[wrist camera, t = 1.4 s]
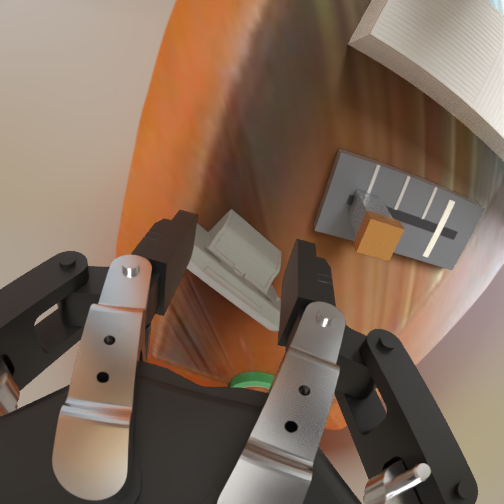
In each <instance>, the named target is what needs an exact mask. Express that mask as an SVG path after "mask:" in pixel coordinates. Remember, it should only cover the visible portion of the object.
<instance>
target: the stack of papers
mask: <svg viewBox="0 0 504 504" xmlns="http://www.w3.org/2000/svg"><path fill="white" fill-rule="evenodd" d="M348 45H350V46H351V47H353V48H355V49H357V50H359V51H360V52H362V53H364V54H366V55H367V56H369V57H371V58H372V59H374V60H376V61H377V62H379V63H381V64H382V65H384V66H385V67H387V68H389V69H390V70H392V71H393V72H395V73H396V74H398V75H399V76H401V77H402V78H404V79H405V80H407V81H408V82H410V83H411V84H412V85H414V86H415V87H417V88H418V89H420V90H421V91H422V92H424V93H425V94H426V95H428V96H429V97H430V98H432V99H433V100H434V101H436V102H437V103H438V104H440V105H441V106H442V107H443V108H445V109H446V110H447V111H448V112H450V113H451V114H452V115H453V116H455V117H456V118H457V119H458V120H459V121H460V122H462V123H463V124H464V125H465V126H466V127H467V128H469V129H470V130H471V131H472V132H473V133H474V134H475V135H476V136H478V137H479V138H480V139H481V140H482V141H483V142H484V143H485V144H486V145H487V146H488V147H489V148H490V149H491V150H492V151H493V152H494V153H495V154H496V155H497V156H498V157H499V158H500V159H501V160H502V161H503V162H504V16H503V15H502V14H501V13H500V12H499V11H498V10H497V9H496V8H495V7H494V6H493V5H492V4H491V3H489V2H488V1H487V0H371V2H370V4H369V6H368V8H367V9H366V11H365V13H364V15H363V17H362V19H361V20H360V22H359V24H358V26H357V28H356V30H355V32H354V33H353V35H352V37H351V39H350V41H349V43H348Z"/></svg>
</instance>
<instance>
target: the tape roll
mask: <svg viewBox="0 0 504 504" xmlns="http://www.w3.org/2000/svg"><path fill="white" fill-rule="evenodd" d="M274 377H275V376H274V375H271V374H268V373H263V372H246V373H242V374H239V375H237V376H235V377H234V378H233V379H232V380H231V383H230V387H240V388H246V387H252V386H257V387H264V388H267V389H269V388H270V385H271V383H272V381H273V379H274Z"/></svg>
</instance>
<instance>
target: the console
mask: <svg viewBox="0 0 504 504" xmlns="http://www.w3.org/2000/svg"><path fill="white" fill-rule="evenodd" d="M357 190H359V191H362V192H366V193H369V194H372V195H375V196H378V197H380V198H381V199H382V201H383V202H384V204H385V206H386V207H387V209H388V211H389V213H390V214H391V216H392V218H393V219H395V220H398V221H400V223H401V225H402V226H403V228H404V232H403V234H402V236H401V238H400V240H399V242H398V244H397V246H396V248H395V250H394V252H393V253H396V254H400V255H403V256H406V257H410V258H413V259H417V260H420V261H423V262H426V263H430V264H433V265H436V266H440V267H443V268H446V269H449V270H452V269H453V268H454V266H455V264H456V262H457V261H458V259H459V257H460V255H461V253H462V252H463V250H464V248H465V246H466V244H467V242H468V240H469V239H470V237H471V235H472V233H473V231H474V229H475V227H476V225H477V223H478V221H479V219H480V217H481V215H482V213H483V210H484V208H483V207H482V206H481V205H480V204H479V203H478V202H476V201H474V200H472V199H470V198H467V197H465V196H463V195H461V194H459V193H456V192H454V191H452V190H450V189H447V188H445V187H443V186H440V185H438V184H436V183H433V182H431V181H428V180H426V179H424V178H421V177H419V176H416V175H414V174H411V173H408V172H406V171H403V170H401V169H398V168H395V167H393V166H390V165H387V164H384V163H382V162H379V161H376V160H373V159H370V158H367V157H364V156H361V155H358V154H355V153H352V152H349V151H346V150H343V149H340V148H339V149H338V152H337V155H336V158H335V161H334V164H333V167H332V170H331V173H330V176H329V179H328V183H327V186H326V188H325V191H324V194H323V197H322V200H321V203H320V206H319V209H318V212H317V215H316V218H315V221H314V230H315V231H318V232H321V233H325V234H329V235H333V236H336V237H340V238H343V239H347V240H351V241H354V240H355V238H356V235H355V232H354V229H353V226H352V223H351V220H350V217H349V214H348V212H349V209H350V207H351V204H352V201H353V199H354V196H355V193H356V191H357Z"/></svg>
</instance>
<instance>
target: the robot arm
mask: <svg viewBox="0 0 504 504" xmlns="http://www.w3.org/2000/svg"><path fill="white" fill-rule="evenodd" d="M197 220H198V214H195V213H191V212H187V211H183V210H179V211H178V212H177V214H176V215H175V217H174V218H173V219H172V220H168V219H163V220H161V221H159V222H157V223H155V224H154V225H153V226H152V228H151V229H150V230H149V232H148V233H147V234H146V235H145V238H143V239H142V240H141V242H140V243H139V244H138V246H137V247H136V248H135V250H134V251H133V252H132V253H131V255H124V256H120V257H118V258H116V259H115V260H114V261H113V262H112V263H111V265H110V267H95V266H88V263H87V259H86V257H85V256H84V255H83V254H81V253H79V252H75V251H67V252H62V253H59V254H57V255H55V256H54V257H52V258H50V259H49V260H47V261H45V262H43V263H42V264H40V265H39V266H37V267H35V268H34V269H32V270H30V271H29V272H27V273H25V274H24V275H22V276H21V277H19V278H17V279H16V280H14V281H13V282H11V283H10V284H8V285H7V286H5V287H3V288H2V289H0V504H362V503H361V502H360V501H359V499H358V498H357V497H356V496H355V495H354V493H353V492H352V491H351V489H350V488H349V486H348V485H347V484H346V483H345V481H344V480H343V479H342V477H341V476H340V475H339V473H338V472H337V471H336V470H335V468H334V467H333V465H332V464H331V463H330V461H329V460H328V459H327V457H326V456H325V454H324V453H323V452H322V450H321V449H320V448H319V443H320V440H321V437H322V434H323V430H324V427H325V424H326V420H327V417H328V413H329V410H330V406H331V402H332V399H333V395H334V394H335V396H336V399H337V401H338V404H339V406H340V409H341V411H342V414H343V416H344V418H345V421H346V423H347V426H348V428H349V431H350V433H351V436H352V438H353V441H354V443H355V446H356V448H357V451H358V453H359V456H360V458H361V461H362V463H363V466H364V468H365V471H366V474H367V476H368V479H369V481H368V482H367V484H366V487H365V491H364V492H365V494H364V496H363V502H364V504H475V502H476V500H477V495H478V487H477V483H476V481H475V479H474V477H473V474H472V472H471V470H470V468H469V466H468V464H467V462H466V460H465V458H464V456H463V453H462V451H461V449H460V447H459V445H458V443H457V441H456V440H455V438H454V436H453V434H452V432H451V430H450V428H449V426H448V424H447V422H446V420H445V418H444V416H443V414H442V413H441V411H440V409H439V407H438V405H437V404H436V402H435V400H434V398H433V396H432V395H431V393H430V391H429V389H428V387H427V386H426V384H425V382H424V380H423V379H422V377H421V375H420V373H419V372H418V370H417V368H416V366H415V365H414V363H413V361H412V360H411V358H410V356H409V355H408V353H407V351H406V350H405V348H404V346H403V345H402V343H401V341H400V340H399V339H398V338H397V337H396V336H395V335H394V334H392V333H391V332H389V331H386V330H383V329H374V330H372V331H371V332H370V333H369V334H368V335H367V336H365V335H363V334H361V333H359V332H357V331H355V330H353V329H351V328H349V327H348V326H346V325H345V324H346V321H345V317H344V315H343V314H342V312H341V311H340V310H339V309H337V308H336V305H335V297H334V289H333V285H332V283H333V282H332V278H331V277H332V275H331V268H330V266H329V265H328V263H327V262H326V260H325V259H323V258H320V257H316V249H315V244H314V243H310V242H307V241H303V240H299V239H297V240H296V242H295V244H294V247H293V250H292V253H291V256H290V259H289V262H288V265H287V267H286V270H285V274H284V278H283V283H282V295H281V309H280V322H279V334H278V345H280V346H285V347H286V352H285V355H284V357H283V359H282V361H281V363H280V365H279V368H278V370H277V372H276V374H275V377H274V379H273V381H272V383H271V385H270V388H269V390H268V392H267V393H264V392H259V391H254V390H249V389H245V388H240V387H203V386H200V385H197V384H195V383H193V382H191V381H190V380H188V379H186V378H184V377H182V376H180V375H178V374H176V373H175V372H173V371H171V370H169V369H167V368H163V367H160V366H157V365H154V364H150V363H148V353H149V342H150V332H151V321H152V319H153V317H154V315H155V313H156V314H159V315H162V316H164V314H165V312H166V310H167V308H168V306H169V304H170V302H171V299H172V297H173V295H174V293H175V291H176V289H177V287H178V285H179V283H180V280H181V278H182V276H183V274H184V272H185V270H186V268H187V266H188V264H189V262H190V259H191V256H192V253H193V248H194V241H195V234H196V227H197ZM56 303H57V305H58V309H57V310H56V311H54V312H53V313H51V314H50V315H49V316H47V317H46V318H45V319H43V320H42V321H41V322H39V323H38V324H36V325H35V326H34V323H35V321H36V319H37V318H38V317H39V316H40V315H41V314H42V313H44V312H45V311H47V310H48V309H49V308H51V307H52V306H54V305H55V304H56ZM79 340H81V342H80V345H79V349H78V353H77V357H76V361H75V365H74V370H73V374H72V378H71V383H70V385H68V386H66V387H64V388H62V389H59V390H58V391H55V392H53V393H51V394H49V395H47V396H45V397H43V398H40V399H38V400H36V401H34V402H32V403H30V404H27V405H25V406H23V407H21V408H19V409H17V402H18V400H19V394H20V392H19V391H20V390H22V389H23V388H24V387H25V386H26V385H27V384H28V383H30V382H31V381H32V380H33V379H34V378H35V377H37V376H38V375H39V374H40V373H41V372H42V371H44V370H45V369H46V368H47V367H48V366H49V365H51V364H52V363H53V362H54V361H55V360H57V359H58V358H59V357H60V356H61V355H63V354H64V353H65V352H66V351H67V350H68V349H70V348H71V347H72V346H73V345H74V344H76V343H77V342H78V341H79ZM376 388H378V390H379V392H380V394H381V396H382V398H383V400H384V402H385V404H386V407H387V413H386V411H385V409H384V407H383V405H382V403H381V401H380V399H379V397H378V395H377V392H376V390H375V389H376Z"/></svg>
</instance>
